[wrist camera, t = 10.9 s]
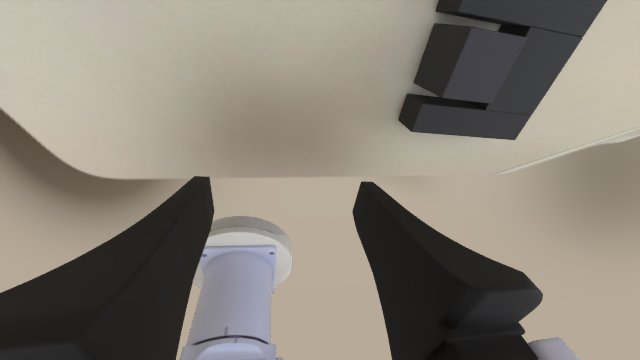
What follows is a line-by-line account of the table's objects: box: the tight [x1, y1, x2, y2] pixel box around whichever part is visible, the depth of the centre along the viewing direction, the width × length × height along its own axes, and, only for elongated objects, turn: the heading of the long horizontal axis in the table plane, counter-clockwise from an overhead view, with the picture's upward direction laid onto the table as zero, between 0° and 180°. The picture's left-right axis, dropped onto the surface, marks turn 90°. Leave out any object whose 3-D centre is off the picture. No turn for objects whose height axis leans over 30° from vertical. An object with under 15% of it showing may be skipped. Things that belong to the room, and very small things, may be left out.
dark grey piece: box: [399, 0, 607, 140], centre depth 18 cm, size 10×10×2 cm
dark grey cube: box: [414, 23, 528, 104], centre depth 17 cm, size 4×4×4 cm
